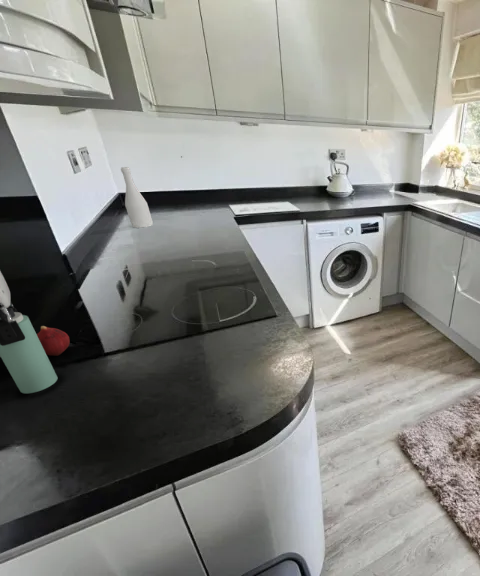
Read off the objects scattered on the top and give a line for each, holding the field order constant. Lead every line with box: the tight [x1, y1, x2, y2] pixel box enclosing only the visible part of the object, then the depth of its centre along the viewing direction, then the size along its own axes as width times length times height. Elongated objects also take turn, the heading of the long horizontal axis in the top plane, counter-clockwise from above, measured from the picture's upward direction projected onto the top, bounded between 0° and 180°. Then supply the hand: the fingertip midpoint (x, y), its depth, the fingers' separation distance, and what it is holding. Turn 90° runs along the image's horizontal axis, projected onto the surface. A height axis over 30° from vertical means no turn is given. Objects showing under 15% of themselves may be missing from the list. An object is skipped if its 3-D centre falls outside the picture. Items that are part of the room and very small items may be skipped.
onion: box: [36, 325, 71, 357], centre depth 74 cm, size 6×6×8 cm
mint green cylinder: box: [0, 308, 58, 394], centre depth 64 cm, size 17×6×6 cm
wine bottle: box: [120, 166, 154, 229], centre depth 169 cm, size 10×10×30 cm
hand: (13, 334), depth 62 cm, fingers closed on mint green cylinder, 5 cm apart
